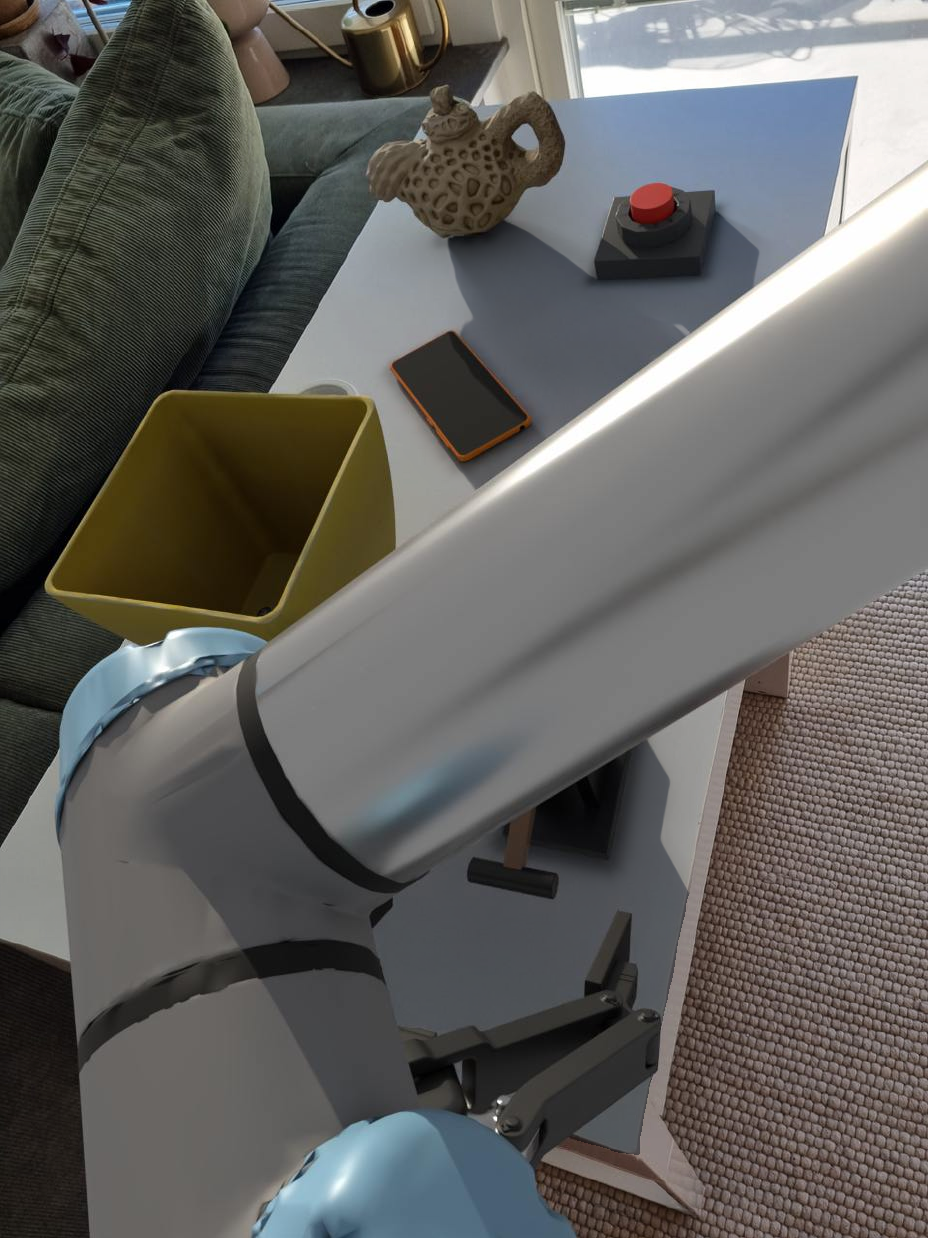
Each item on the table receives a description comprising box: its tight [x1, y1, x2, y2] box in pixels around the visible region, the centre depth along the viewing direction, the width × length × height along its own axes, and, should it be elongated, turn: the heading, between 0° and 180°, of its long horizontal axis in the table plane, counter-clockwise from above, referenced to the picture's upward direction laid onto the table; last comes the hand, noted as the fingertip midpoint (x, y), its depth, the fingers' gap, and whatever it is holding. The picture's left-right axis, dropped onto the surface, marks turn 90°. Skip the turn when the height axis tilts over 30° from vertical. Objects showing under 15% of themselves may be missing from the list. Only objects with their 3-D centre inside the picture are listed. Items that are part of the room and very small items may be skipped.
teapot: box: [365, 84, 566, 239], centre depth 96 cm, size 21×12×15 cm, turn 82°
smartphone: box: [389, 329, 532, 462], centre depth 88 cm, size 8×17×1 cm, turn 27°
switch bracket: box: [502, 748, 633, 860], centre depth 59 cm, size 10×7×13 cm
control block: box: [593, 186, 717, 281], centre depth 91 cm, size 10×10×4 cm
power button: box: [630, 182, 675, 224], centre depth 89 cm, size 4×4×2 cm
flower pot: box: [44, 389, 397, 647], centre depth 71 cm, size 19×19×17 cm
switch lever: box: [466, 806, 560, 900], centre depth 54 cm, size 12×5×2 cm, turn 164°
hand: (499, 907), depth 51 cm, fingers open, 13 cm apart
